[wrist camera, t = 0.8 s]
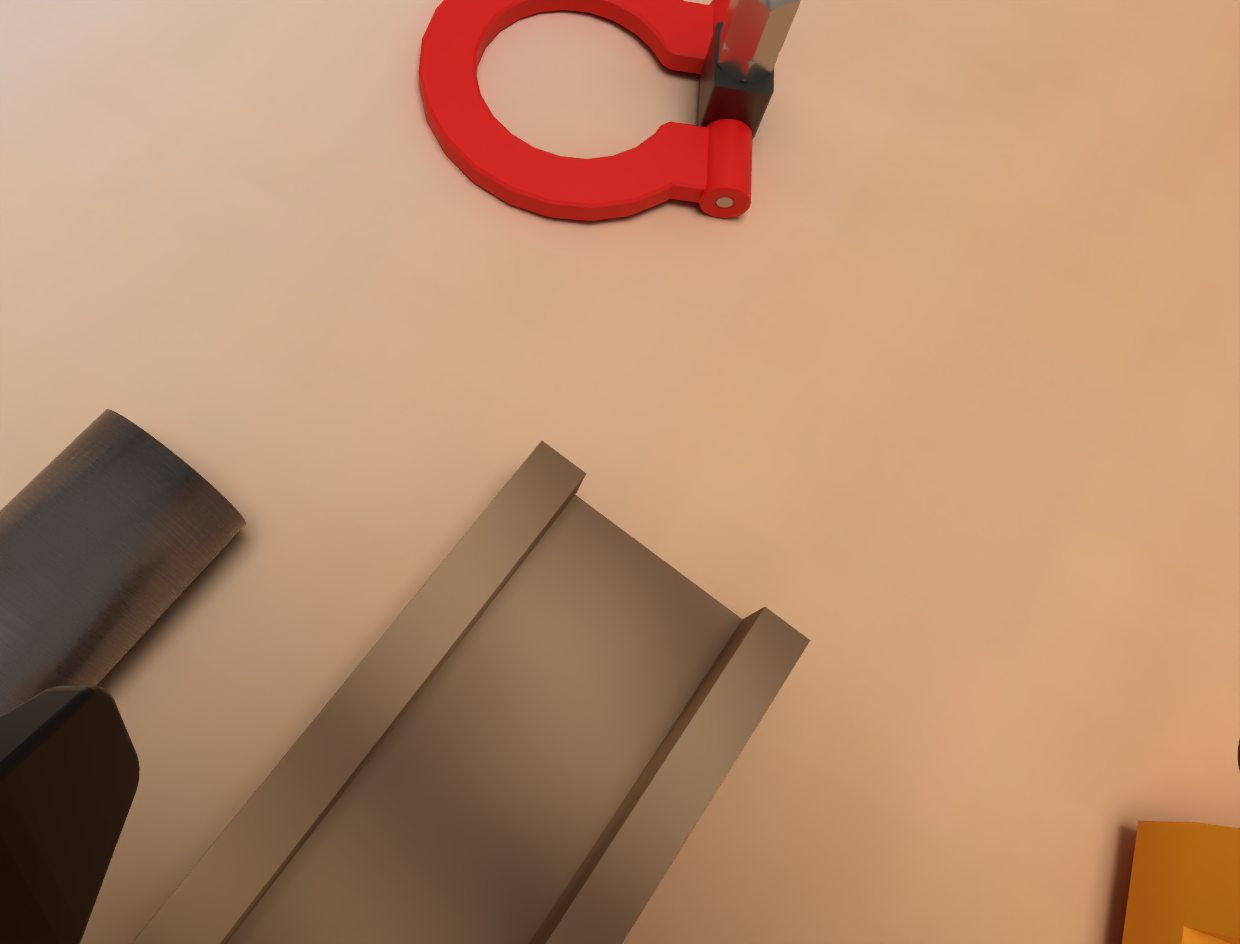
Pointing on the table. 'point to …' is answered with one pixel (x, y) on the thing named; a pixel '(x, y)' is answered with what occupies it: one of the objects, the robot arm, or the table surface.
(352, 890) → the rail
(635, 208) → the tow hook
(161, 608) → the rod
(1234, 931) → the bracket
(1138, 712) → the table surface
